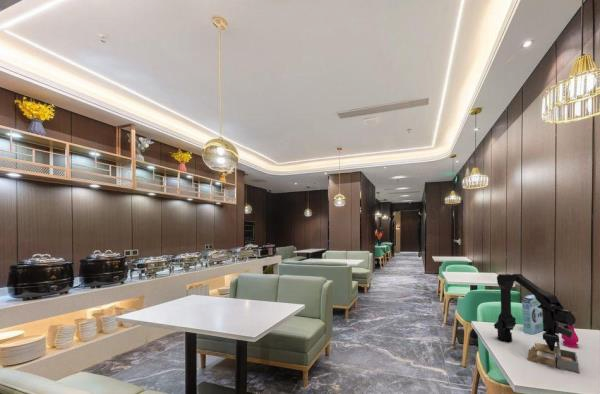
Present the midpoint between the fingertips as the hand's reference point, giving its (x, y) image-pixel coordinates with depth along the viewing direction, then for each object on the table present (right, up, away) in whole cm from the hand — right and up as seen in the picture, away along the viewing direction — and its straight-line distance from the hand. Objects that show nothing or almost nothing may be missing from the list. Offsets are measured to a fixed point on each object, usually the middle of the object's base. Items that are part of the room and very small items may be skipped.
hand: (552, 350), depth 147 cm
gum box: (+25, -9, +40) cm, 48 cm away
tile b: (+6, -4, -2) cm, 7 cm away
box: (+4, -5, -4) cm, 8 cm away
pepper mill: (+26, -7, +18) cm, 33 cm away
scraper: (-2, -1, +1) cm, 3 cm away
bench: (-3, -6, +2) cm, 7 cm away
